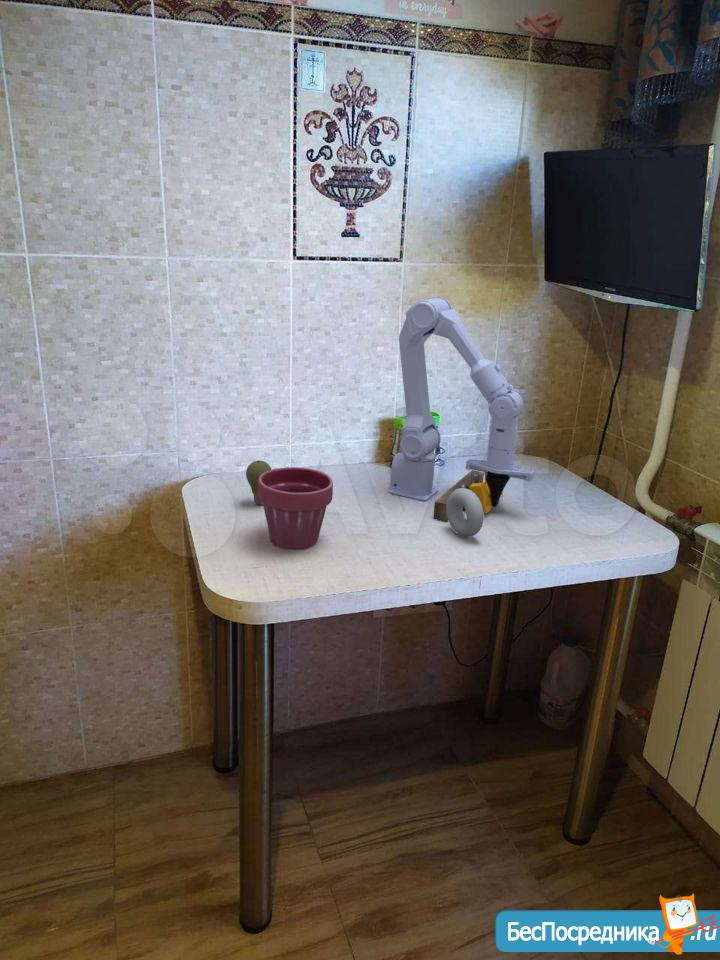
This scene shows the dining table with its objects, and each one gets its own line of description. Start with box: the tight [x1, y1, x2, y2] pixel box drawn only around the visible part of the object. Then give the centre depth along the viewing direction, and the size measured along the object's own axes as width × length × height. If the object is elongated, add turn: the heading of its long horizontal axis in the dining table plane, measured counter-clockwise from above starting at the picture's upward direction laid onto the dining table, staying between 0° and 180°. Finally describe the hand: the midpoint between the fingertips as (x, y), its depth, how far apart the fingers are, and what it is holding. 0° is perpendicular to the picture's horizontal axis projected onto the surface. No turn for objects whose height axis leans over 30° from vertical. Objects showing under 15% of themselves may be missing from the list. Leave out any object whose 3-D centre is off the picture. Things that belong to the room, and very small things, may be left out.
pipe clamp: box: [470, 472, 504, 515], centre depth 159 cm, size 12×4×6 cm, turn 153°
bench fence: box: [433, 469, 485, 523], centre depth 160 cm, size 4×24×6 cm, turn 153°
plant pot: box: [258, 466, 334, 551], centre depth 137 cm, size 14×14×13 cm
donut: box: [446, 488, 485, 538], centre depth 143 cm, size 10×3×10 cm, turn 30°
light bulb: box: [245, 459, 273, 506], centre depth 153 cm, size 6×6×10 cm
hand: (495, 505), depth 157 cm, fingers closed, pressing on pipe clamp
